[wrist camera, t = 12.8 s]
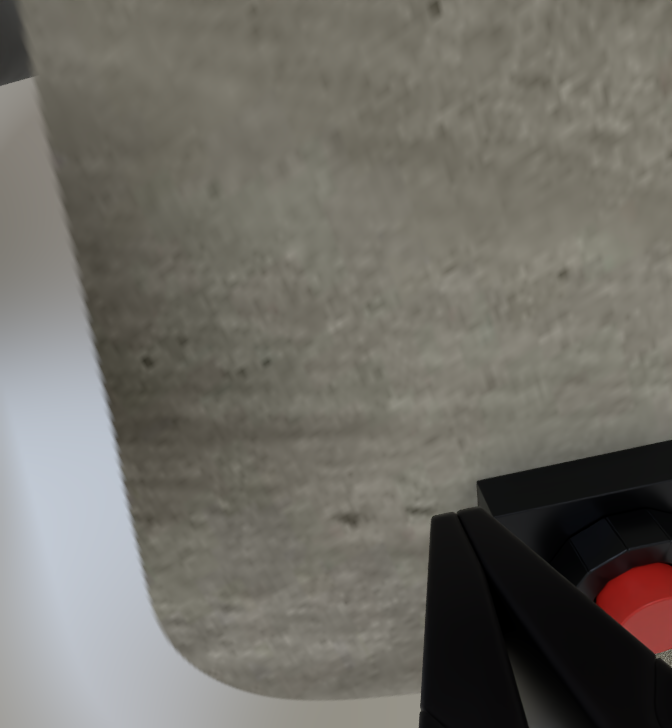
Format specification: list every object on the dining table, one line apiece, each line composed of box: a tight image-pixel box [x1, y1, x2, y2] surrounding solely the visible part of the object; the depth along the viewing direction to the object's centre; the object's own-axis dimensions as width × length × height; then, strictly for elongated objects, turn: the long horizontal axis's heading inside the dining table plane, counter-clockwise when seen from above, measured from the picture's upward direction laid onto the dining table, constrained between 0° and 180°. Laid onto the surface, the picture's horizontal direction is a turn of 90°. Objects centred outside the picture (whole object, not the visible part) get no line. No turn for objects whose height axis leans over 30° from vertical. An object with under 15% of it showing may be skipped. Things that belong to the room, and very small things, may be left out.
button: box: [596, 562, 672, 654], centre depth 24 cm, size 4×4×2 cm
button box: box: [477, 440, 672, 603], centre depth 26 cm, size 11×9×4 cm
